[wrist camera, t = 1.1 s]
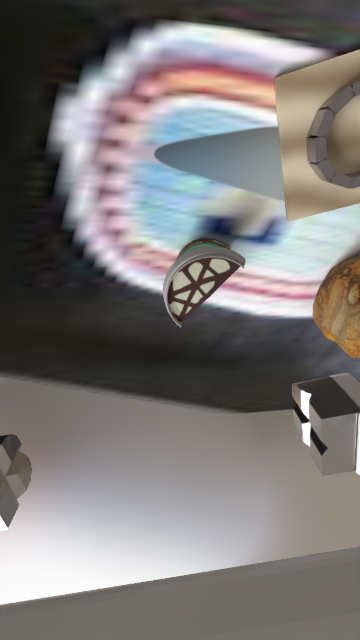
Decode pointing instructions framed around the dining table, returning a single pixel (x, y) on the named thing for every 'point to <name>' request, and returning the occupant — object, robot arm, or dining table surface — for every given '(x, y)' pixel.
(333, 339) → the rough brown rock
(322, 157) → the grey segmented ring
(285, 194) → the birch board
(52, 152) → the dining table surface
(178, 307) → the food container
